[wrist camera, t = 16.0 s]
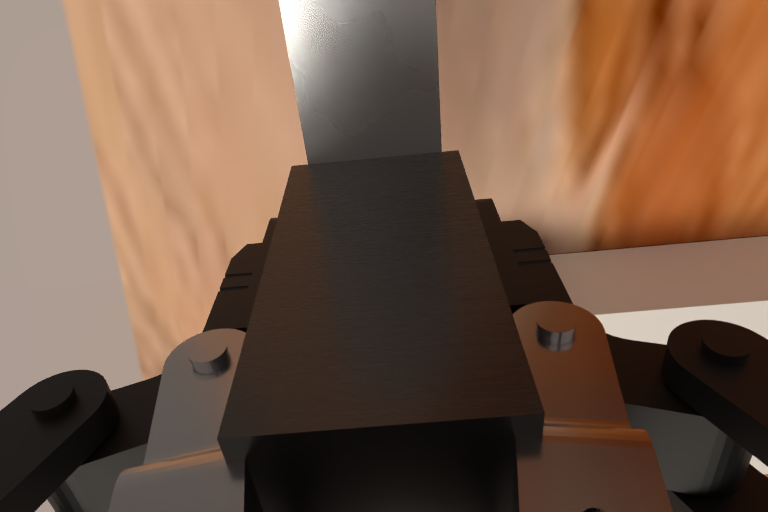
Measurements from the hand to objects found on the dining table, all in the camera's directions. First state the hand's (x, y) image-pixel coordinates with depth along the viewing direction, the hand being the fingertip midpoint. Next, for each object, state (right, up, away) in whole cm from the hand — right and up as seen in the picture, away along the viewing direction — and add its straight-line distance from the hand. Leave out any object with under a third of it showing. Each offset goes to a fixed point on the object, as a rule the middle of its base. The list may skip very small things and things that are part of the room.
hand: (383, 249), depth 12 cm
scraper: (0, +2, +2) cm, 3 cm away
